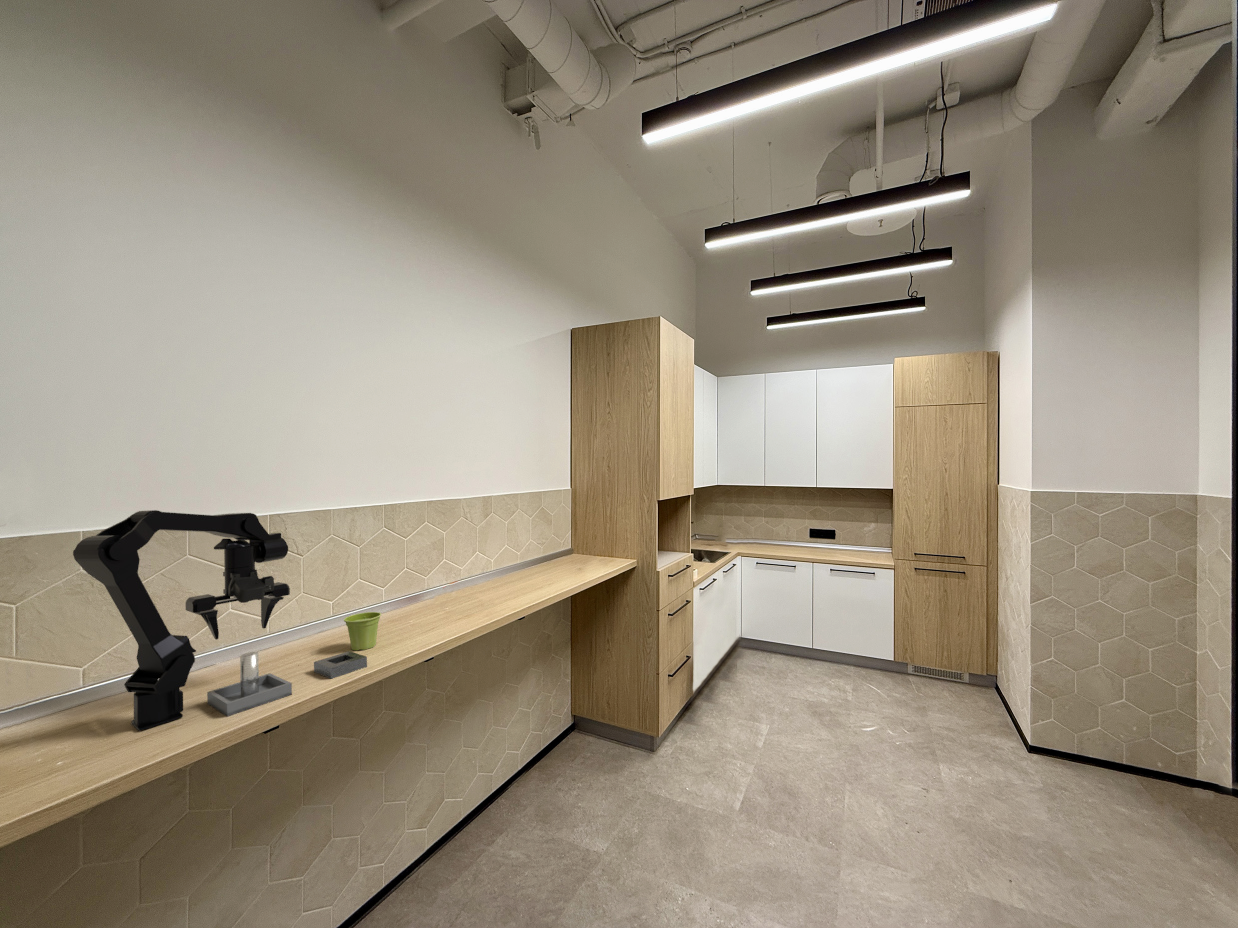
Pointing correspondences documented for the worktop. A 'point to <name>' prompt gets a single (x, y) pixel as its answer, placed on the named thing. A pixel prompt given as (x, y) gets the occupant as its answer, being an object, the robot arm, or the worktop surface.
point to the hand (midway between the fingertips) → (241, 633)
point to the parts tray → (232, 702)
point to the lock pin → (249, 674)
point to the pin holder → (340, 664)
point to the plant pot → (363, 629)
